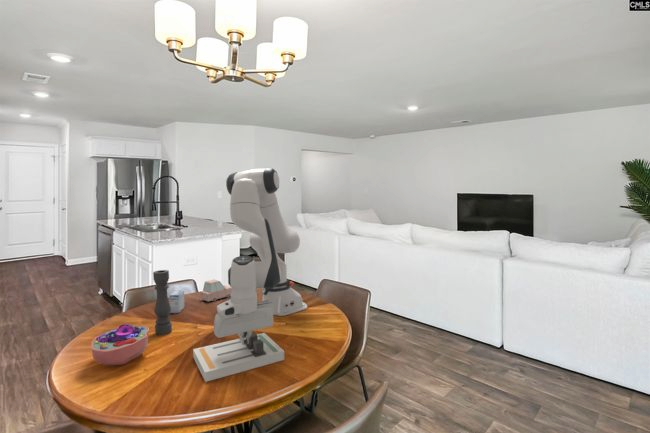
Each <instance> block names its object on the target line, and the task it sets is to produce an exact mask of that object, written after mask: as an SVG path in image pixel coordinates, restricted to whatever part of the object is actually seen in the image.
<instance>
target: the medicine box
mask: <svg viewBox="0 0 650 433" xmlns="http://www.w3.org/2000/svg"><path fill="white" fill-rule="evenodd" d="M168 298H169V303H170V307H171V311H170V313H169V314H180V312H182V310H184V308H185V290H174V291H173V292H172V293H171V294H169V297H168Z"/></svg>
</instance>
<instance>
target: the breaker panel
mask: <svg viewBox="0 0 650 433" xmlns="http://www.w3.org/2000/svg"><path fill="white" fill-rule="evenodd" d="M256 335H257V336H258V339H261V340H262V341H263V350H264V351H265V352H266V354H264V355H260V356H257V357H254V355H253V354H252V353H251V351H253V349H250V350H249V349H248V347H247V346H246V344H244V345H242V344H241V340H240V338H236V339H232V340H228V341H223V342H219V343H214V344H210V345H205V346H202V347H198V348H197V347H196V348H193V349H192V353H193V354H192V357H193V360H194V362H195V364H196V367H197V368H198V370H199V372H200V374H201V375H202V376H201V377H202V379H203V381H204V382H205V383H207V382H210V381H213V380H217V379H221V378H224V377H228V376H232V375H235V374H239V373H243V372H246V371H249V370H252V369H256V368H261V367H264V366H266V365H267V366H268V365H271V364H274V363H278V362H281V361H285V350H284V349H282V348H281V347H280V346H279V345H278V344H277V343H276V342H275V341H274V340H273V339H272V338H271V337H270V336H269V335H267V334H266V333H265V332H263V333H258V334H257V333H256Z"/></svg>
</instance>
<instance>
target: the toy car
mask: <svg viewBox="0 0 650 433" xmlns="http://www.w3.org/2000/svg"><path fill="white" fill-rule="evenodd" d="M231 292H232V288H231V286H230V285H229V286H228V285H223V284H222V282H221V281H220V280H218V279H210V280H206V281H204V284H203V289H202V290H201V291H200V296H201V300H203V301H206V302H213V303H215V302H217V300H218V299H219V300H220V299H222V298H223V299H224V298H225V299H229V298H231Z"/></svg>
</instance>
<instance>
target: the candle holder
mask: <svg viewBox="0 0 650 433" xmlns="http://www.w3.org/2000/svg"><path fill="white" fill-rule="evenodd" d="M152 274H153V282H154V283H155V286H154V290H156V299H155V305H154V309H153V310H154V314H155V316H156V320H155V323H154V324H155V325H154V333H155V334H154V335H156V336H166V335H169V334H171V333H172V332H173V330H172V329H173V327H172V326H173V325H172V320H171V318H170V317H169V316H170V314H171V313H170V311H171V307H170V299H169V297H168V289H169V284H168V282H169V280H170V271H169V269H160V270H156V271H153V272H152ZM168 333H169V334H168ZM165 334H166V335H165Z"/></svg>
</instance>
